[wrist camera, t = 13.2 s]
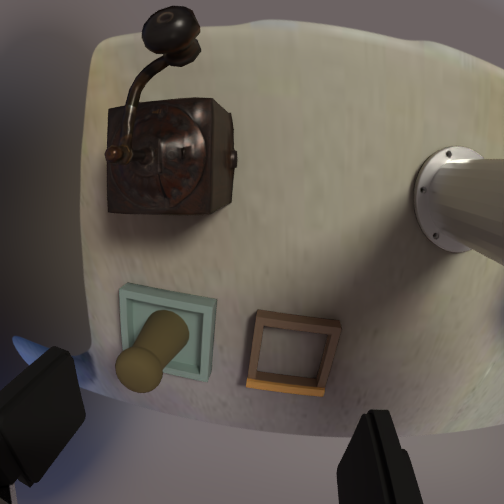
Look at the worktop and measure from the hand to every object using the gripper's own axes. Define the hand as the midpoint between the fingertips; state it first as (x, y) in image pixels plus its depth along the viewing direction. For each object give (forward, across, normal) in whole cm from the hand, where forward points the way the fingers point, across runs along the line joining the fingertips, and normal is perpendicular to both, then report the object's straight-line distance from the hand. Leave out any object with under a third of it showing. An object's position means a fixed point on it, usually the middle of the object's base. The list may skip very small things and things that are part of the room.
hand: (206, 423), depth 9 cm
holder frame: (+28, -5, +14) cm, 32 cm away
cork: (+28, +11, +14) cm, 33 cm away
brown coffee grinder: (+29, +10, -10) cm, 32 cm away
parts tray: (+28, +11, +14) cm, 33 cm away
